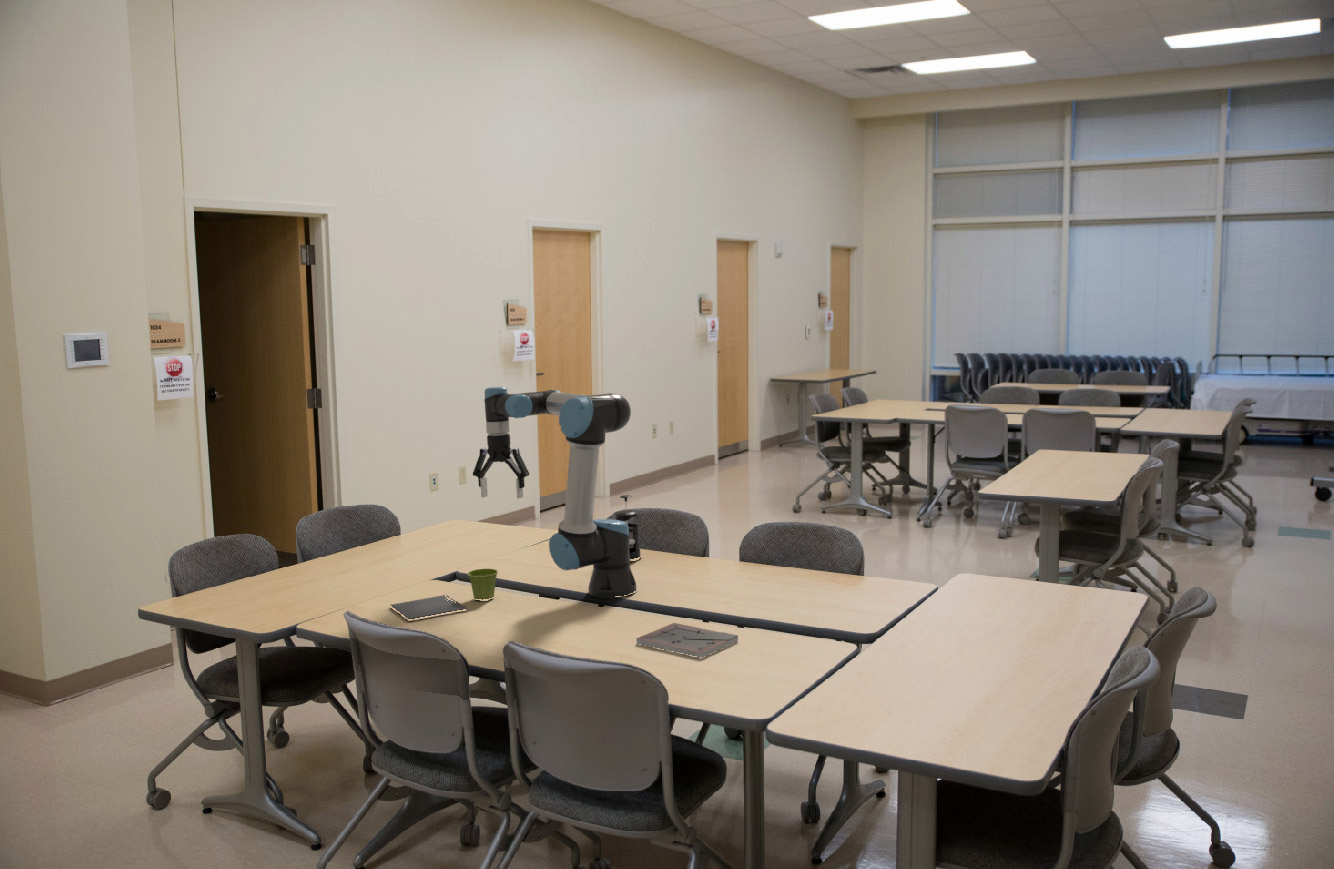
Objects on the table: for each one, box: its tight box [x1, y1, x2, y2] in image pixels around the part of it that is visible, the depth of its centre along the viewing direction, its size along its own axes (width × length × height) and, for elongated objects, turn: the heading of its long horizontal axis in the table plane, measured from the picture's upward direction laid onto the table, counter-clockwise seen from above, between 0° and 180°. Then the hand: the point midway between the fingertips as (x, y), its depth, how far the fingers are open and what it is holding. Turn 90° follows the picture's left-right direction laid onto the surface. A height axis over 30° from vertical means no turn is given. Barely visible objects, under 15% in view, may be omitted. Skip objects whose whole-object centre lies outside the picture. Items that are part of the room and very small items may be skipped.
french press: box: [613, 494, 641, 559], centre depth 372 cm, size 12×9×23 cm
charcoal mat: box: [390, 594, 468, 619], centre depth 318 cm, size 18×18×1 cm
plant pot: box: [466, 568, 499, 600], centre depth 327 cm, size 9×9×9 cm
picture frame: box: [635, 622, 739, 658], centre depth 279 cm, size 16×2×22 cm
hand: (502, 497), depth 348 cm, fingers open, 13 cm apart
